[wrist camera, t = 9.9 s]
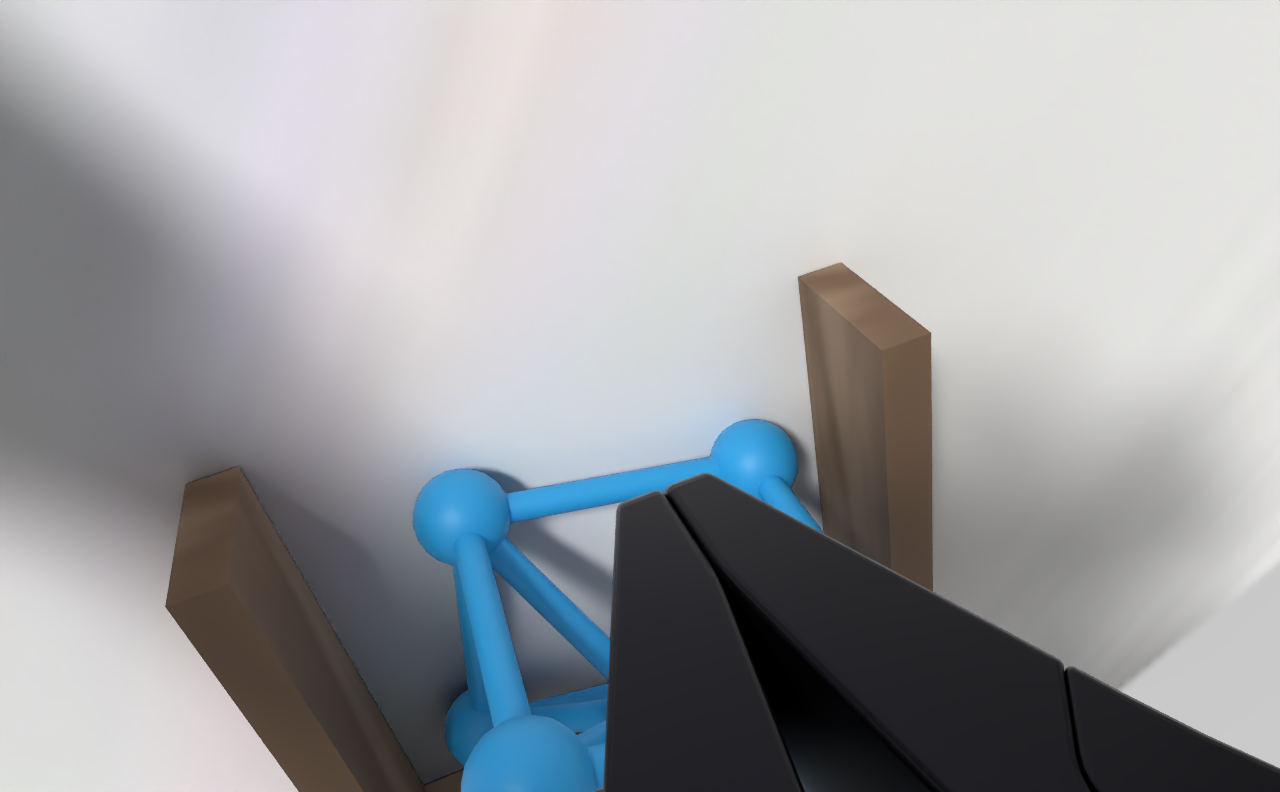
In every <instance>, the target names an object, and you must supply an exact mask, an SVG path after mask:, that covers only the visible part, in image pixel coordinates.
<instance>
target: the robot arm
mask: <svg viewBox="0 0 1280 792" xmlns="http://www.w3.org/2000/svg"><path fill="white" fill-rule="evenodd" d="M603 792H1280V768H1278V767H1275V766H1274V765H1271V764H1269V763H1267V762H1265V761H1263V760H1260V759H1258V758H1256V757H1254V756H1252V755H1249V754H1247V753H1245V752H1243V751H1241V750H1238V749H1236V748H1234V747H1232V746H1230V745H1227V744H1225V743H1223V742H1221V741H1218V740H1216V739H1214V738H1212V737H1210V736H1207V735H1205V734H1203V733H1201V732H1199V731H1197V730H1195V729H1193V728H1191V727H1190V726H1187V725H1185V724H1184V723H1182V722H1179V721H1178V720H1176V719H1174V718H1172V717H1170V716H1168V715H1166V714H1164V713H1162V712H1160V711H1158V710H1156V709H1154V708H1152V707H1150V706H1148V705H1146V704H1144V703H1142V702H1140V701H1138V700H1136V699H1134V698H1132V697H1130V696H1128V695H1126V694H1124V693H1122V692H1120V691H1118V690H1117V689H1115V688H1113V687H1111V686H1109V685H1107V684H1105V683H1103V682H1102V681H1100V680H1098V679H1096V678H1094V677H1092V676H1090V675H1088V674H1087V673H1085V672H1083V671H1081V670H1079V669H1077V668H1075V667H1072V666H1070V667H1068V668H1066V669H1065V672H1064V666H1063V663H1062V661H1061V660H1059V659H1058V658H1056V657H1054V656H1052V655H1050V654H1048V653H1046V652H1045V651H1043V650H1041V649H1039V648H1037V647H1035V646H1033V645H1031V644H1030V643H1028V642H1026V641H1024V640H1022V639H1020V638H1018V637H1016V636H1015V635H1013V634H1011V633H1009V632H1007V631H1005V630H1003V629H1001V628H1000V627H998V626H996V625H994V624H992V623H990V622H988V621H986V620H985V619H983V618H981V617H979V616H977V615H975V614H973V613H971V612H970V611H968V610H966V609H964V608H962V607H960V606H958V605H956V604H955V603H953V602H951V601H949V600H947V599H945V598H943V597H941V596H940V595H938V594H936V593H934V592H932V591H930V590H928V589H927V588H925V587H923V586H921V585H919V584H917V583H915V582H913V581H912V580H910V579H908V578H906V577H904V576H902V575H900V574H898V573H897V572H895V571H893V570H891V569H889V568H887V567H885V566H883V565H882V564H880V563H878V562H876V561H874V560H872V559H870V558H868V557H867V556H865V555H863V554H861V553H859V552H857V551H855V550H853V549H852V548H850V547H848V546H846V545H844V544H842V543H840V542H838V541H837V540H835V539H833V538H831V537H829V536H827V535H825V534H823V533H822V532H820V531H818V530H816V529H814V528H812V527H810V526H808V525H807V524H805V523H803V522H801V521H799V520H797V519H795V518H794V517H792V516H790V515H788V514H786V513H784V512H782V511H780V510H779V509H777V508H775V507H773V506H771V505H769V504H767V503H765V502H764V501H762V500H760V499H758V498H756V497H754V496H752V495H750V494H749V493H747V492H745V491H743V490H741V489H739V488H737V487H735V486H734V485H732V484H730V483H728V482H726V481H724V480H722V479H720V478H719V477H717V476H715V475H713V474H709V473H701V474H698V475H695V476H692V477H690V478H687V479H684V480H681V481H679V482H676V483H673V484H670V485H669V486H668V487H667V488H666V489H665V492H664V493H663V492H661V491H657V490H655V491H651V492H649V493H646V494H643V495H640V496H638V497H635V498H632V499H629V500H627V501H624V502H622V503H620V505H619V506H618V508H617V511H616V529H615V550H614V571H613V592H612V613H611V634H610V655H609V676H608V697H607V718H606V739H605V760H604V781H603Z"/></svg>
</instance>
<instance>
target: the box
mask: <svg viewBox="0 0 1280 792" xmlns="http://www.w3.org/2000/svg"><path fill="white" fill-rule="evenodd" d="M798 281H799V291H800V301H801V311H802V321H803V331H804V341H805V351H806V361H807V371H808V381H809V390H810V400H811V410H812V420H813V430H814V440H815V450H816V460H817V470H818V480H819V490H820V500H821V509H822V519H823V529H824V534H825V535H827V536H829V537H831V538H833V539H835V540H837V541H838V542H840V543H842V544H844V545H846V546H848V547H850V548H852V549H853V550H855V551H857V552H859V553H861V554H863V555H865V556H867V557H868V558H870V559H872V560H874V561H876V562H878V563H880V564H882V565H883V566H885V567H887V568H889V569H891V570H893V571H895V572H897V573H898V574H900V575H902V576H904V577H906V578H908V579H910V580H912V581H913V582H915V583H917V584H919V585H921V586H923V587H925V588H927V589H928V590H930V591H932V592H933V574H932V413H931V332H929V331H928V330H927V329H925V328H924V327H923V326H922V325H920V324H919V323H918V322H917V321H915V320H914V319H913V318H911V317H910V316H909V315H908V314H906V313H905V312H904V311H903V310H901V309H900V308H899V307H897V306H896V305H895V304H894V303H892V302H891V301H890V300H888V299H887V298H886V297H885V296H883V295H882V294H881V293H880V292H878V291H877V290H876V289H874V288H873V287H872V286H871V285H869V284H868V283H867V282H865V281H864V280H863V279H862V278H860V277H859V276H858V275H857V274H855V273H854V272H853V271H851V270H850V269H849V268H848V267H846V266H845V265H844V264H843V263H838V264H835V265H832V266H829V267H826V268H823V269H820V270H817V271H814V272H811V273H808V274H805V275H802V276H799V277H798ZM165 607H166V608H167V610H168V611H169V612H170V614H171V615H172V617H173V618H174V619H175V621H176V622H177V623H178V625H179V626H180V628H181V629H182V630H183V632H184V633H185V635H186V636H187V637H188V639H189V640H190V641H191V643H192V644H193V646H194V647H195V648H196V650H197V651H198V653H199V654H200V655H201V657H202V658H203V659H204V661H205V662H206V664H207V665H208V666H209V668H210V669H211V671H212V672H213V673H214V675H215V676H216V677H217V679H218V680H219V682H220V683H221V684H222V686H223V687H224V689H225V690H226V691H227V693H228V694H229V695H230V697H231V698H232V700H233V701H234V702H235V704H236V705H237V707H238V708H239V709H240V711H241V712H242V713H243V715H244V716H245V718H246V719H247V720H248V722H249V723H250V725H251V726H252V727H253V729H254V730H255V731H256V733H257V734H258V736H259V737H260V738H261V740H262V741H263V743H264V744H265V745H266V747H267V748H268V749H269V751H270V752H271V754H272V755H273V756H274V758H275V759H276V760H277V762H278V763H279V765H280V766H281V767H282V769H283V770H284V772H285V773H286V774H287V776H288V777H289V778H290V780H291V781H292V783H293V784H294V785H295V787H296V788H297V790H298V791H299V792H461V781H462V776H463V771H464V770H461V771H459V772H457V773H454V774H452V775H449V776H447V777H444V778H442V779H439V780H437V781H434V782H432V783H429V784H427V785H423V784H422V782H421V780H420V778H419V777H418V775H417V773H416V772H415V770H414V768H413V766H412V765H411V763H410V761H409V759H408V758H407V756H406V754H405V752H404V751H403V749H402V747H401V746H400V744H399V742H398V740H397V739H396V737H395V735H394V733H393V732H392V730H391V728H390V727H389V725H388V723H387V721H386V720H385V718H384V716H383V714H382V713H381V711H380V709H379V707H378V706H377V704H376V702H375V701H374V699H373V697H372V695H371V694H370V692H369V690H368V688H367V687H366V685H365V683H364V682H363V680H362V678H361V676H360V675H359V673H358V671H357V669H356V668H355V666H354V664H353V662H352V661H351V659H350V657H349V656H348V654H347V652H346V650H345V649H344V647H343V645H342V643H341V642H340V640H339V638H338V637H337V635H336V633H335V631H334V630H333V628H332V626H331V624H330V623H329V621H328V619H327V618H326V616H325V614H324V612H323V611H322V609H321V607H320V605H319V604H318V602H317V600H316V598H315V597H314V595H313V593H312V592H311V590H310V588H309V586H308V585H307V583H306V581H305V579H304V578H303V576H302V574H301V573H300V571H299V569H298V567H297V566H296V564H295V562H294V560H293V559H292V557H291V555H290V553H289V552H288V550H287V548H286V547H285V545H284V543H283V541H282V540H281V538H280V536H279V534H278V533H277V531H276V529H275V528H274V526H273V524H272V522H271V521H270V519H269V517H268V515H267V514H266V512H265V510H264V509H263V507H262V505H261V503H260V502H259V500H258V498H257V496H256V495H255V493H254V491H253V489H252V488H251V486H250V484H249V483H248V481H247V479H246V477H245V476H244V474H243V472H242V470H241V469H240V467H239V466H238V467H235V468H232V469H229V470H226V471H223V472H220V473H217V474H214V475H211V476H208V477H205V478H202V479H199V480H197V481H194V482H191V483H188V484H186V485H185V491H184V497H183V503H182V509H181V515H180V521H179V527H178V533H177V539H176V545H175V551H174V557H173V564H172V570H171V576H170V582H169V588H168V594H167V600H166V606H165ZM574 733H575V734H576V735H579V734H580V733H582V732H574ZM595 792H603V789H601V790H597V791H595Z"/></svg>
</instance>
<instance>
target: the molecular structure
mask: <svg viewBox="0 0 1280 792" xmlns="http://www.w3.org/2000/svg"><path fill="white" fill-rule="evenodd" d="M797 471H798V457H797V453H796V449H795V447H794V444H793V443H792V441H791V439H790V437H789V436H788V435H787V434H786V433H785V432H784V431H783V430H782V429H781V428H780V427H778V426H776V425H774V424H772V423H770V422H768V421H763V420H757V419H751V420H743V421H740V422H737V423H734V424H732V425H731V426H729V427H728V428H727V429H725V430H724V431H723V432H722V433H721V434H720V435H719V437H718V438H717V440H716V441H715V443H714V445H713V447H712V451H711V455H710V457H706V458H701V459H695V460H690V461H684V462H679V463H673V464H667V465H662V466H656V467H651V468H645V469H640V470H634V471H629V472H623V473H617V474H612V475H606V476H601V477H595V478H590V479H584V480H579V481H573V482H567V483H562V484H556V485H551V486H545V487H540V488H534V489H529V490H523V491H517V492H512V493H506V494H505V492H504V491H503V489H502V488H501V487H500V485H499V484H498V482H496V481H495V480H493V479H492V478H491V477H489V476H488V475H487V474H485V473H482V472H479V471H476V470H473V469H455V470H450V471H446V472H444V473H442V474H440V475H438V476H436V477H434V478H433V479H432V480H431V481H430V482H429V483H428V484H427V485H426V486H425V487H424V488H423V489H422V491H421V492H420V494H419V496H418V498H417V501H416V504H415V507H414V510H413V527H414V530H415V533H416V536H417V539H418V541H419V542H420V544H421V545H422V546H423V548H424V549H425V550H426V552H428V553H429V554H430V555H431V556H432V557H434V558H436V559H437V560H439V561H441V562H444V563H447V564H450V565H453V571H454V579H455V587H456V595H457V603H458V612H459V620H460V628H461V636H462V644H463V652H464V660H465V669H466V677H467V685H468V690H467V691H465V692H464V693H462V694H461V695H459V696H458V698H457V699H456V700H455V701H454V702H453V703H452V705H451V707H450V709H449V711H448V713H447V716H446V720H445V725H444V732H445V740H446V743H447V746H448V749H449V751H450V752H451V754H452V755H453V757H454V758H455V759H456V760H457V761H458V762H459V763H460V764H462V765H464V771H463V776H462V781H461V792H595V791H597V790H601V789H603V781H604V760H605V739H606V718H607V697H608V683H607V684H603V685H599V686H595V687H591V688H587V689H583V690H579V691H575V692H571V693H566V694H562V695H558V696H554V697H550V698H546V699H542V700H538V701H534V702H530V703H528V699H527V695H526V692H525V688H524V684H523V680H522V677H521V673H520V669H519V666H518V662H517V658H516V655H515V651H514V647H513V643H512V640H511V636H510V632H509V629H508V625H507V621H506V618H505V614H504V610H503V606H502V603H501V599H500V595H499V592H498V588H497V584H496V581H495V577H494V573H493V569H494V570H495V571H496V572H498V573H499V574H500V575H501V576H502V577H503V578H504V579H505V580H506V581H507V582H508V583H509V584H510V585H511V586H512V587H513V588H514V589H515V590H516V591H517V592H518V593H519V594H520V595H521V596H522V597H523V598H524V599H525V600H526V601H527V602H528V603H529V604H530V605H531V606H533V607H534V608H535V609H536V610H537V611H538V612H539V613H540V614H541V615H542V616H543V617H544V618H545V619H546V620H547V621H548V622H549V623H550V624H551V625H552V626H553V627H554V628H555V629H556V630H557V631H558V632H559V633H560V634H561V635H562V636H563V637H564V638H565V639H566V640H568V641H569V642H570V643H571V644H572V645H573V646H574V647H575V648H576V649H577V650H578V651H579V652H580V653H581V654H582V655H583V656H584V657H585V658H586V659H587V660H588V661H589V662H590V663H591V664H592V665H593V666H594V667H595V668H596V669H597V670H598V671H599V672H600V673H601V674H603V675H604V676H605V677H606V678H607V679H608V676H609V655H610V638H609V637H608V636H607V635H606V634H605V633H604V632H603V631H602V630H601V629H600V628H598V627H597V626H596V625H595V624H594V623H593V622H592V621H591V620H590V619H589V618H588V617H587V616H586V615H585V614H584V613H583V612H582V611H581V610H580V609H579V608H578V607H577V606H576V605H575V604H574V603H573V602H572V601H571V600H570V599H569V598H568V597H567V596H566V595H565V594H563V593H562V592H561V591H560V590H559V589H558V588H557V587H556V586H555V585H554V584H553V583H552V582H551V581H550V580H549V579H548V578H547V577H546V576H545V575H544V574H543V573H542V572H541V571H540V570H539V569H538V568H537V567H536V566H535V565H534V564H533V563H532V562H531V561H529V560H528V559H527V558H526V557H525V556H524V555H523V554H522V553H521V552H520V551H519V550H518V549H517V548H516V547H515V546H514V545H513V544H512V543H511V542H510V541H509V540H508V539H507V538H506V535H507V534H508V531H509V526H510V523H513V522H519V521H524V520H529V519H534V518H540V517H545V516H550V515H556V514H561V513H566V512H571V511H577V510H582V509H587V508H593V507H598V506H603V505H608V504H614V503H619V502H624V501H627V500H629V499H632V498H635V497H638V496H640V495H643V494H646V493H649V492H651V491H655V490H657V491H661V492H663V493H664V492H665V489H666V488H667V487H668V486H669V485H670V484H673V483H676V482H679V481H681V480H684V479H687V478H690V477H692V476H695V475H698V474H701V473H709V474H713V475H715V476H717V477H719V478H720V479H722V480H724V481H726V482H728V483H730V484H732V485H734V486H735V487H737V488H739V489H741V490H743V491H745V492H747V493H749V494H750V495H752V496H754V497H756V498H758V499H760V500H762V501H764V502H765V503H767V504H769V505H771V506H773V507H775V508H777V509H779V510H780V511H782V512H784V513H786V514H788V515H790V516H792V517H794V518H795V519H797V520H799V521H801V522H803V523H805V524H807V525H808V526H810V527H812V528H814V529H816V530H818V531H820V532H822V533H823V531H822V530H821V529H820V527H819V526H818V525H817V523H816V522H815V521H814V519H813V518H812V517H811V515H810V514H809V513H808V511H807V510H806V509H805V508H804V506H803V505H802V504H801V502H800V501H799V500H798V498H797V497H796V496H795V494H794V493H793V492H792V490H791V489H790V488H791V487H792V485H793V483H794V480H795V477H796V474H797ZM823 534H824V533H823ZM492 568H493V569H492ZM574 732H582V733H580V734H579V735H576V734H575V733H574Z"/></svg>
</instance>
